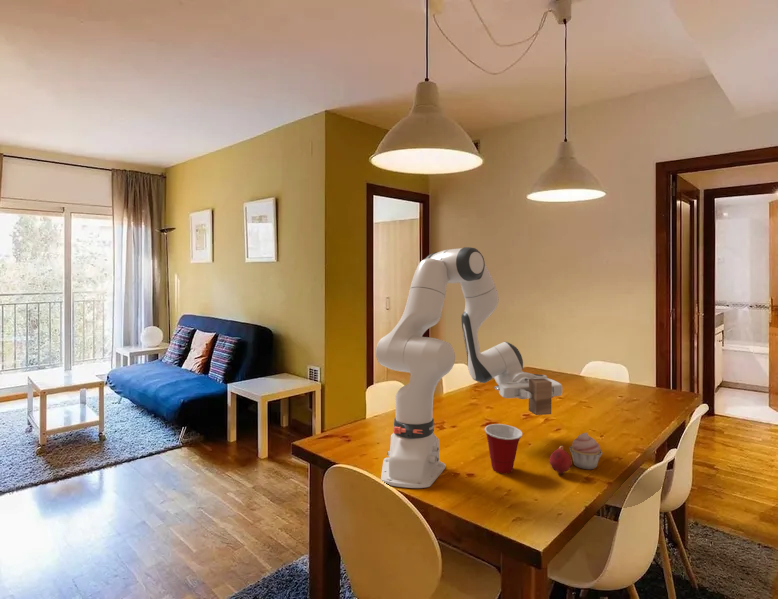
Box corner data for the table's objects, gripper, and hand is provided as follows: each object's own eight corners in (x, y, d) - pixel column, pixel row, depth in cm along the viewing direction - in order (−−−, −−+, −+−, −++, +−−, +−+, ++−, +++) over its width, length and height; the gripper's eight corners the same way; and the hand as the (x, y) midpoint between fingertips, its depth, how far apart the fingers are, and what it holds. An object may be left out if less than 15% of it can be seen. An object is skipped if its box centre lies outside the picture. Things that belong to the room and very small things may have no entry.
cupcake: (608, 472, 135) (608, 438, 135) (575, 471, 135) (576, 438, 135) (594, 459, 145) (595, 427, 144) (564, 459, 145) (564, 427, 144)
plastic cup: (505, 481, 129) (505, 438, 129) (476, 468, 138) (476, 428, 138) (530, 471, 136) (530, 430, 135) (500, 459, 145) (501, 421, 144)
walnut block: (551, 414, 143) (551, 382, 143) (536, 415, 142) (536, 382, 142) (543, 409, 148) (543, 378, 148) (528, 410, 147) (528, 379, 147)
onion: (563, 479, 130) (563, 451, 130) (545, 472, 135) (545, 445, 134) (575, 474, 134) (575, 447, 133) (557, 468, 138) (557, 441, 138)
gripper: (492, 376, 156) (509, 386, 142) (549, 374, 159) (571, 384, 146) (492, 395, 156) (509, 407, 143) (549, 393, 160) (571, 404, 146)
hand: (541, 395), depth 144 cm, fingers closed on walnut block, 5 cm apart
